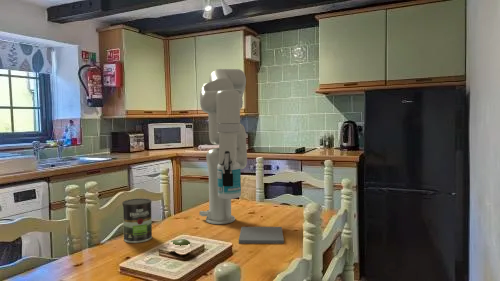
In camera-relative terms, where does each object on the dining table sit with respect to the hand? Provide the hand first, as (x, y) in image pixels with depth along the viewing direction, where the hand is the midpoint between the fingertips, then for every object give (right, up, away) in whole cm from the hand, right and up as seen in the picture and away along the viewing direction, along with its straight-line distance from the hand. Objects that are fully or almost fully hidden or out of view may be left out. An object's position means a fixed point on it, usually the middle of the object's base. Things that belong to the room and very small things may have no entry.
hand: (229, 183), depth 119 cm
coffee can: (-35, -23, +19) cm, 46 cm away
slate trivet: (+11, -22, +20) cm, 32 cm away
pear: (-17, -24, +3) cm, 30 cm away
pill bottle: (0, -5, 0) cm, 5 cm away
